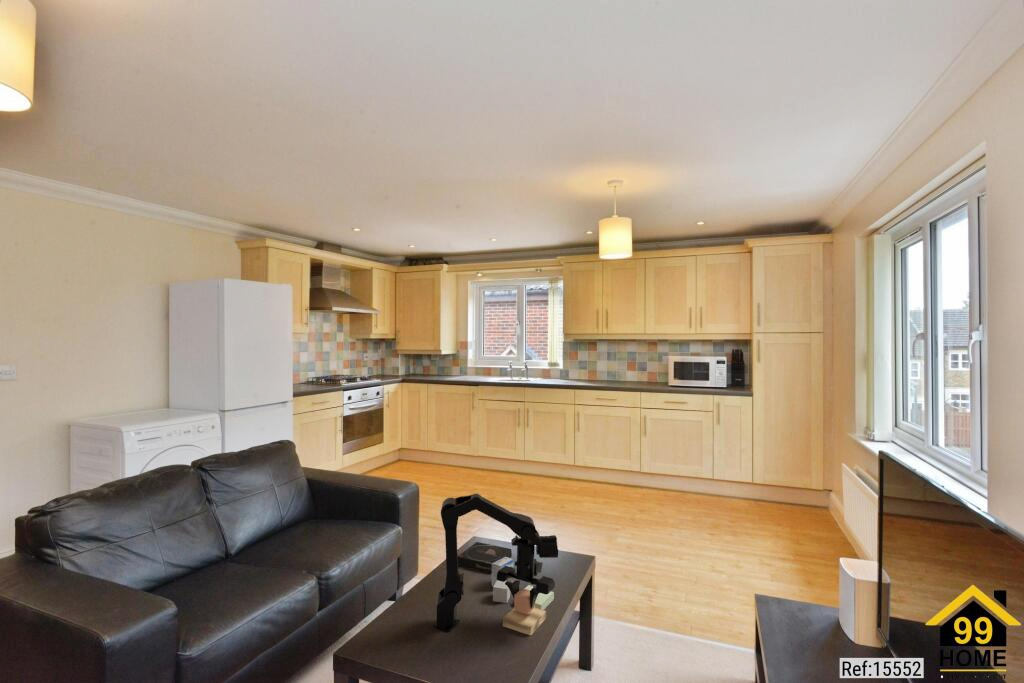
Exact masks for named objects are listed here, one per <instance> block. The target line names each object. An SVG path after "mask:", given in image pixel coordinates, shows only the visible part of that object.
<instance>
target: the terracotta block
mask: <svg viewBox="0 0 1024 683" xmlns="http://www.w3.org/2000/svg"><path fill="white" fill-rule="evenodd" d="M513 601H514V602H513V603H514V604H513V605H514V607H513V608H514V610H515V611H519V612H522V613H525V614H529V613H530V612H531V611H532V610H533V609H534V608H535V604H534V607H533V608H532V609H531V606H530V590H527V589H525V588H523V587H521V588H519V591H518V592H517V593H516V594H515V598H513Z"/></svg>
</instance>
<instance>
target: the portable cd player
mask: <svg viewBox="0 0 1024 683" xmlns="http://www.w3.org/2000/svg"><path fill="white" fill-rule="evenodd" d="M512 552H513V551H512V549H511V548H510V547H509V548H508V547H503V546H499V545H494V544H490V543H483V542H479V541H476V542H474V543H473V544H472V545H471V546H469V547H468V548H467V549H465V550H463V552H461V553H460V554H459V555H458V567H462V568H467V569H471V570H476V571H479V572H484V573H489V574H492V563H494V562H496V561H498V560H500V559H502V558H503V557H508V558H511V559H512V556H513V553H512Z"/></svg>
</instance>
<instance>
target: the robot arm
mask: <svg viewBox="0 0 1024 683" xmlns="http://www.w3.org/2000/svg"><path fill="white" fill-rule="evenodd" d="M473 511H479V512H480V513H482V514H483V515H485V516H488V517H489V518H491V519H493V520H495V521H497V522H499V523H501V524H503V525H505V526H507V527H508V528H509V529H510V530H511V531H512V532H513V533H514V534H515V536H514V537H513V538H511V539H510V540H511V546H512V547H513V546H514V547H515V546H516V561H514V566H516V569H515V567H513V568H512V567H509V566H504V567H503V568H502V569H500V570H499V571H498V572H497V578H496V579H497V580H498V581H502V582H505V581H506V582H505V585H507V586H508V588H509V590H510V594H511V595H512V597H513V599H514V598H515V594H516V593H517V592H518V591H519V590H520V582H522V583H527V584H528V585H531V586H533V588H532V589H531V590H530V606H531V609H532V608H533V607H534V604H535V601H536V599H537V596H538V594H539V593H542V594H549V593H550V592H551V591H552V592H553V589H555V587H556V582H555V580H554V578H552V577H547V576H543V575H542V577H541V578H535V577H537V576H538V575H539V574H540V573H542V569H543V562H541V561H537V559H536V558H535V553H536V555H537V556H538V557H539V559H558V558H559V548H558V547H559V546H558V537H557V535H555V534H554V535H552V534H551V535H540V533H539V531H538V530H537V529H536V525H535V523H534V522H535V521H534V520H533V518H532V517H530V516H528V515H525V514H522V513H516V512H512V511H510V510H508V509H506V508H504V507H502V506H501V505H499V504H497V503H494V502H493V501H491V500H489V499H487V498H485V497H484V496H482V495H481V494H479V493H472V494H469V495H464V496H463V495H461V496H458V497H455V498H454V497H447V498H445V499H444V501H443V502H442V504H441V508H440V517H441V522H442V526H443V529H444V538H445V539H444V540H445V564H446V565H445V568H446V569H445V570H446V574H445V582H444V586H443V587H442V589H440V590H439V591H438V594H437V600H436V621H435V622H433V623H432V627H434V628H437V629H439V630H442V631H445V632H450V631H452V629H454V628H455V627H456V626H457V625H458V624H460V623H461V621H460V619H457V605H458V604H460V602H461V600H462V597H463V596H464V595H465V583H464V578H465V577H464V575H465V574H464V573H460V571H459V566H458V556H459V555H458V531H457V530H458V522H459V518H460V517H463V516H465V515H467V514H470V513H471V512H473ZM538 573H539V574H538Z"/></svg>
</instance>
